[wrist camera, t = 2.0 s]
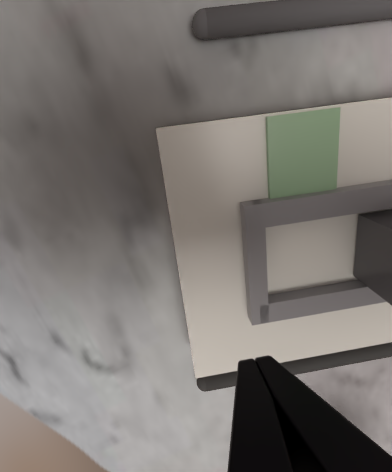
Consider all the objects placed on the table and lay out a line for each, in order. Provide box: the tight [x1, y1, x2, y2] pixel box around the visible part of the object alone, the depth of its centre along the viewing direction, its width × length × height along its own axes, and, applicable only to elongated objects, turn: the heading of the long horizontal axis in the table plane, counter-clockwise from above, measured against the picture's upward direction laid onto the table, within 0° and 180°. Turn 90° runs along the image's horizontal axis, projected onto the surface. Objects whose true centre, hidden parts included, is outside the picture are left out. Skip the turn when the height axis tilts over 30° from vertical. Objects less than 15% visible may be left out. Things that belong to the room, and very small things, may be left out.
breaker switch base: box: [156, 97, 392, 378], centre depth 14 cm, size 19×12×3 cm, turn 97°
